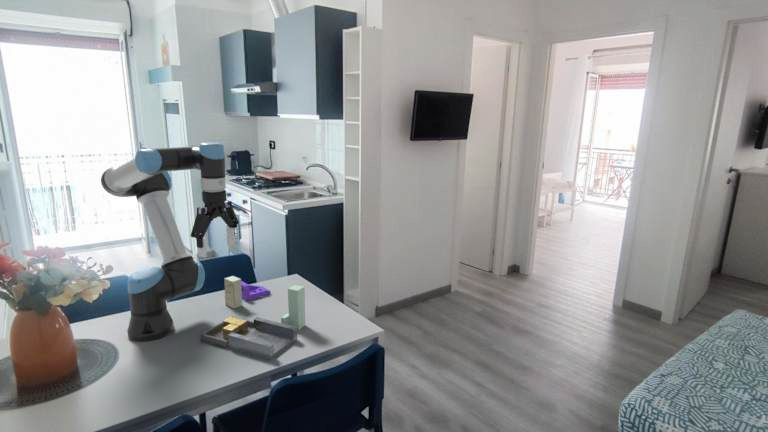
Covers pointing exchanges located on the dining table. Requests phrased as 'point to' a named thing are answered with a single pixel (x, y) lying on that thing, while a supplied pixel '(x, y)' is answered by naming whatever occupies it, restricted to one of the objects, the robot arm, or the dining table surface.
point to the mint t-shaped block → (295, 307)
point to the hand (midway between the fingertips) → (217, 250)
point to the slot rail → (264, 339)
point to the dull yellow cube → (229, 321)
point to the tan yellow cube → (241, 325)
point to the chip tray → (220, 334)
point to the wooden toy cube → (230, 330)
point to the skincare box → (233, 292)
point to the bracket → (253, 291)
